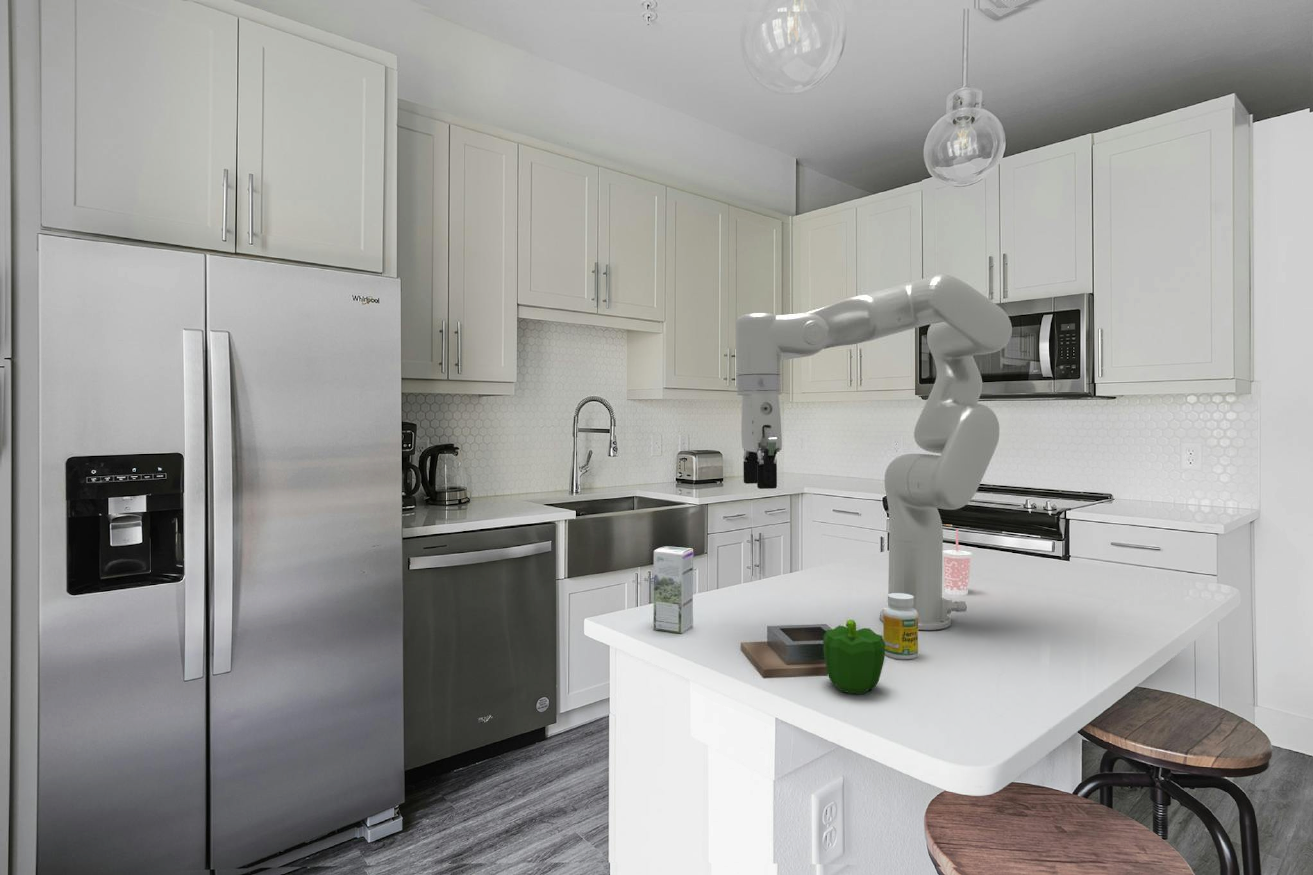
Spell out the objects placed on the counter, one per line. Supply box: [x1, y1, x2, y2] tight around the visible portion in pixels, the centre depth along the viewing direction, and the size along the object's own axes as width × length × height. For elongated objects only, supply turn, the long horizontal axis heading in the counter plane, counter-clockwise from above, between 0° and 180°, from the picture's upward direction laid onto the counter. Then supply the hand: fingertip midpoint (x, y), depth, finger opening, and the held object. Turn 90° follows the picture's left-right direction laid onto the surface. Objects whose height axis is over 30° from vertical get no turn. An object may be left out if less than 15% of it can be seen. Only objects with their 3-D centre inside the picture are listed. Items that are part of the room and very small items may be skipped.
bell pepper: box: [823, 619, 886, 695], centre depth 100 cm, size 8×8×10 cm
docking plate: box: [740, 640, 828, 679], centre depth 112 cm, size 18×13×1 cm
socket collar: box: [766, 623, 834, 665], centre depth 112 cm, size 10×10×3 cm
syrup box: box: [653, 545, 694, 634], centre depth 129 cm, size 6×6×14 cm
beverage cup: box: [943, 529, 973, 596], centre depth 158 cm, size 6×6×14 cm
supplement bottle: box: [882, 593, 919, 660], centre depth 115 cm, size 5×5×10 cm
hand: (759, 485), depth 123 cm, fingers open, 9 cm apart
